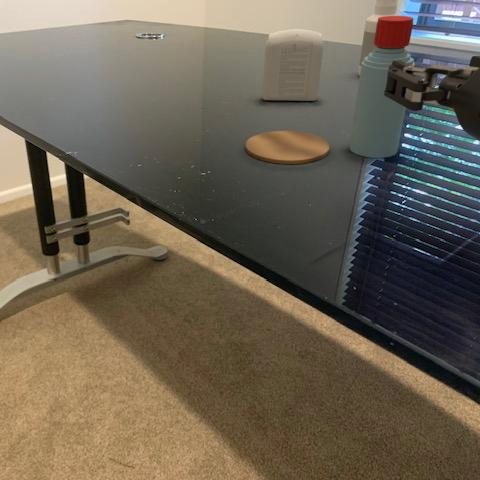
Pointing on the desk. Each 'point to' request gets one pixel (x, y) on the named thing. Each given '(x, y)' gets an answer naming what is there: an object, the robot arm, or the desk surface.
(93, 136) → the desk surface
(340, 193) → the desk surface
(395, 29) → the bottle cap
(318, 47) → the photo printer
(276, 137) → the coaster
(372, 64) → the bottle
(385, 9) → the beige tall canister
